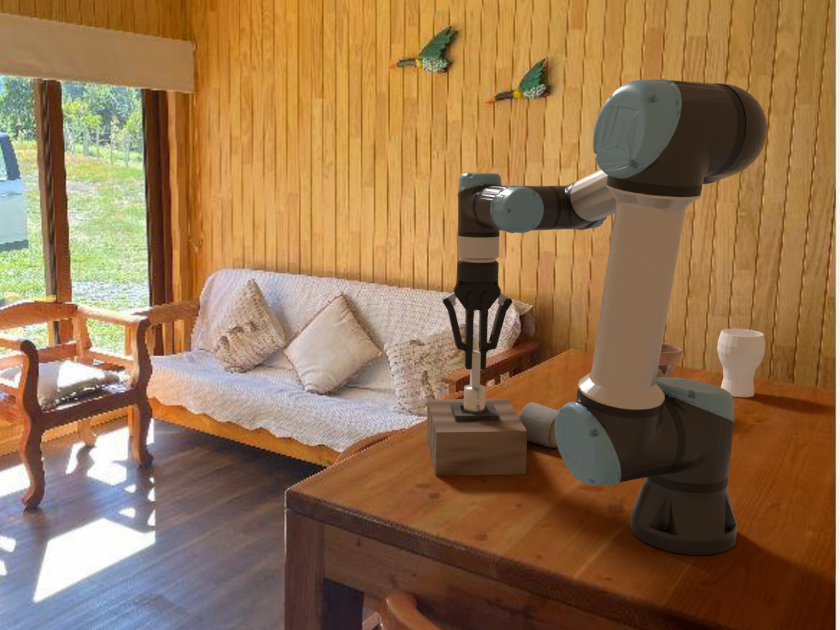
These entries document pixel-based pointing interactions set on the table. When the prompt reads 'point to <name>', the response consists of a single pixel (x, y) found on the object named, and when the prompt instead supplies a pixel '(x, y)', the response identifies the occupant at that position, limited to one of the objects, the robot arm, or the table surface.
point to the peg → (474, 399)
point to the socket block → (475, 438)
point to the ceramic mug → (539, 424)
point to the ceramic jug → (668, 360)
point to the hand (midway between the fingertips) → (474, 385)
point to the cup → (740, 359)
